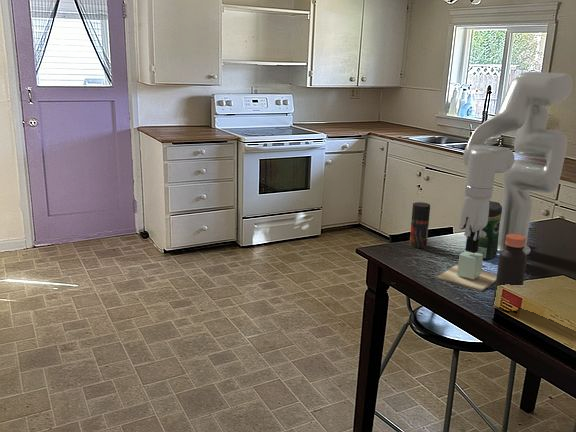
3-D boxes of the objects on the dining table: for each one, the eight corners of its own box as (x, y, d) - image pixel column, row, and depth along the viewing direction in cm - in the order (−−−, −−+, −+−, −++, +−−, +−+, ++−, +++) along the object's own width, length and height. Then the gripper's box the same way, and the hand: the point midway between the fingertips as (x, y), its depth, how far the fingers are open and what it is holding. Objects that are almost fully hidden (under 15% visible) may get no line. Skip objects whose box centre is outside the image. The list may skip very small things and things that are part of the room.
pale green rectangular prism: (464, 270, 173) (466, 250, 171) (480, 274, 169) (483, 254, 168) (457, 275, 169) (459, 254, 167) (473, 279, 166) (476, 258, 164)
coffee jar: (477, 249, 194) (483, 197, 189) (499, 254, 189) (506, 202, 184) (465, 256, 188) (471, 203, 182) (487, 262, 182) (494, 207, 177)
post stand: (457, 265, 179) (459, 245, 177) (500, 277, 170) (503, 256, 168) (436, 278, 169) (438, 256, 167) (481, 291, 160) (484, 268, 158)
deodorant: (426, 248, 194) (430, 207, 190) (409, 247, 195) (412, 206, 191) (426, 243, 200) (430, 202, 195) (409, 241, 201) (412, 201, 196)
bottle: (490, 308, 150) (499, 237, 144) (495, 299, 155) (504, 231, 149) (517, 314, 146) (527, 242, 140) (521, 305, 152) (531, 235, 146)
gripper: (476, 185, 169) (470, 242, 175) (454, 193, 159) (448, 254, 164) (501, 190, 165) (493, 248, 170) (480, 198, 154) (472, 261, 159)
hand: (471, 251), depth 167 cm, fingers closed
